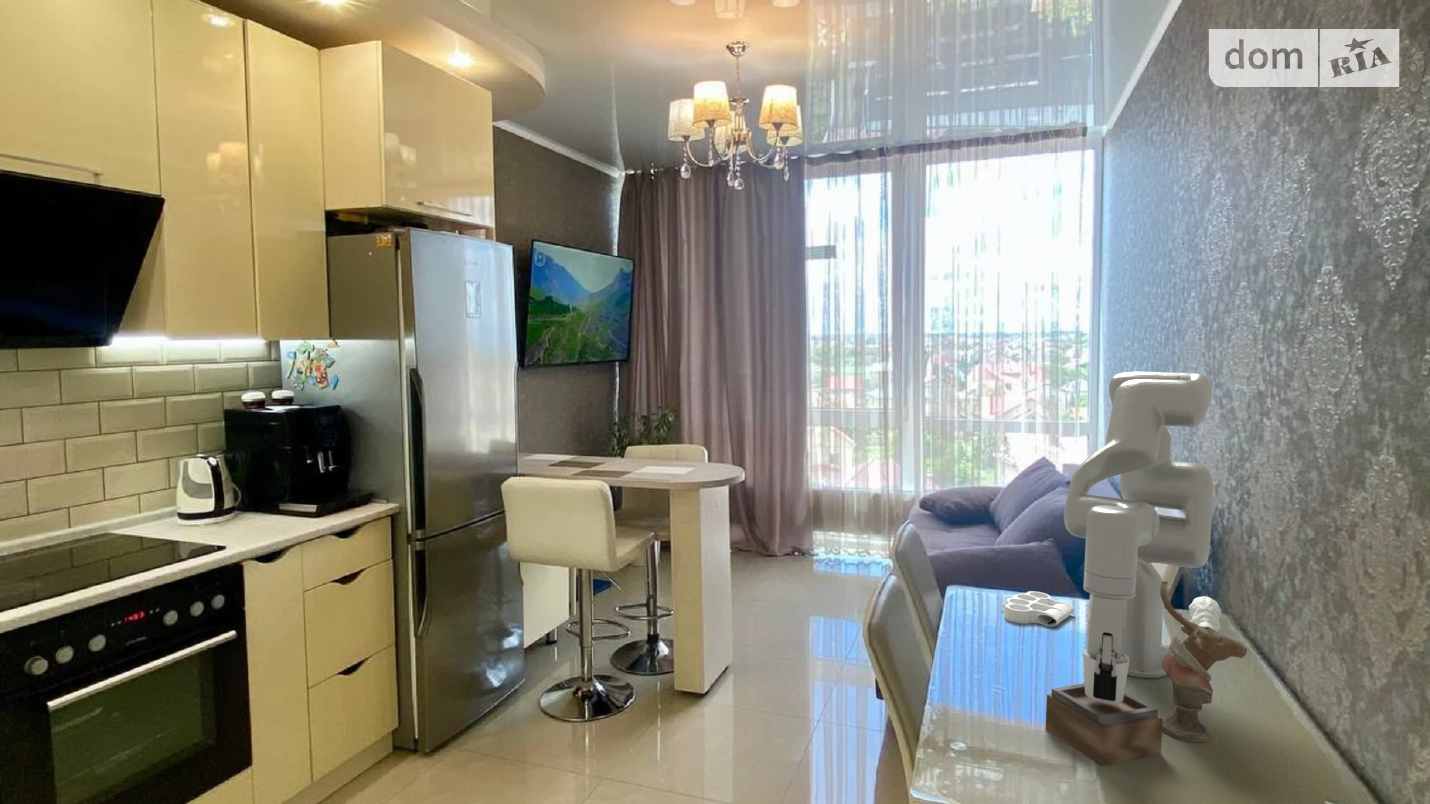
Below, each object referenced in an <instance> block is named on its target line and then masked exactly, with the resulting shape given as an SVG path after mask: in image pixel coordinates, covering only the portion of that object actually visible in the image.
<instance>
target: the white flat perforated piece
mask: <svg viewBox="0 0 1430 804" xmlns="http://www.w3.org/2000/svg"><path fill="white" fill-rule="evenodd" d="M1000 607H1002V608H1004V611H1003V617H1004V619H1005V620H1007V621H1009V622H1012V623H1017V624H1029V623H1034V624H1040V625H1043V626H1047V627H1056V626H1058V625H1059V624H1060V623H1061V622H1063V621H1064V620H1065V621H1066V619H1067V618H1068V617H1069V616H1072V615H1074V614H1075V613H1074V612H1075V609H1074V607H1073V606H1072V605H1070V604H1069V603H1067V602H1064V601H1062V600H1057V599H1053V598H1052V597H1051V595H1049V594H1048V593H1045V592H1042V591H1041V592H1040V591H1033V590H1031V591H1030V590H1029V591H1026V592H1025V593H1017V594H1013V595H1012V597H1007V599H1006V602H1003V603H1002V604H1000ZM1052 620H1055V622H1053V623H1050V622H1051V621H1052ZM1048 623H1049V624H1048Z"/></svg>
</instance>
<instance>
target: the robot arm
mask: <svg viewBox="0 0 1430 804" xmlns="http://www.w3.org/2000/svg"><path fill="white" fill-rule="evenodd" d="M1108 385H1109V386H1108V393H1109V399H1110V401H1111V405H1112V406H1111V411H1110V416H1109V423H1108V428H1107V432H1106V433H1107V435H1106V439H1105V440H1106V441H1105V444H1104V446H1102V448H1100V449H1098V450H1096V451H1095V452H1093V453H1092V454H1091V455H1089V456H1088V457H1087V458H1086V459H1084V461H1083V462H1082V463H1081V464H1080V465H1078V467H1077V469H1075V472H1073V474H1072V477H1071V478H1070V482H1069V485H1068V491H1067V497H1066V499H1065V506H1064V510H1063V511H1064V512H1063V513H1064V514H1063V515H1064V516H1063V521H1064V526H1065V528H1066V530H1067V531H1068V533H1069V534H1071V535H1072V536H1074V537H1077V538H1082V539H1085V547H1084V548H1085V549H1084V550H1085V551H1084V553H1085V554H1084V568H1083V569H1084V570H1083V571H1084V572H1083V590H1084V591H1085V592H1086V593H1089V599H1088V601H1089V602H1088V612H1087V613H1088V614H1087V615H1088V617H1087V634H1086V635H1087V637H1086V638H1087V639H1086V648H1087V653H1088V654H1089V655H1091V654H1094V655H1096V653H1097V655H1096V657H1097V661H1096V672H1094V687H1093V696H1094V697H1095V698H1099V699H1104V700H1109V701H1115V700H1116V681H1117V676H1115V668H1116V660H1118V659H1120V658H1121V653H1123V654H1125V655H1126V656H1128V657H1129V660H1130V661H1129V667H1128V673H1127V676H1131V677H1135V678H1136V677H1137V678H1143V679H1157V678H1158V679H1159V678H1164V677H1166V676H1168V675H1167V674H1166V672H1165V671H1164V670H1163V669H1162V667H1161V661H1162V659H1163V658H1164V656H1166V655H1173V653H1172V650H1171V649H1170V644H1167V645H1164V644H1163V645H1162V640H1163V639H1162V638H1163V637H1162V636H1163V621H1164V620H1163V618H1164V606H1165V605H1164V603H1163V601H1162V598H1161V594H1160V590H1161V584H1162V582H1164V580H1163V578H1162V576H1161V575H1160V574H1159V572H1158V570H1157V569H1156V568H1155V566H1154V565H1153V563H1154V564H1161V565H1169V566H1176V567H1181V568H1189V569H1196V568H1197V569H1198V568H1202V567H1203V566H1205V565H1206V564H1207V562H1208V559H1209V556H1210V548H1211V539H1212V538H1211V535H1212V517H1213V516H1212V515H1213V498H1214V486H1213V485H1214V483H1213V478H1212V473H1211V472H1210V470H1209V469H1208V468H1207V467H1206V466H1204V465H1202V464H1199V463H1195V462H1188V461H1187V462H1186V461H1185V462H1184V461H1174V460H1172V459H1171V447H1172V435H1171V433H1170V431H1169V429H1168V428H1167V426H1168V427H1169V426H1170V427H1182V428H1185V427H1186V428H1193V427H1194V428H1195V427H1198V426H1199V425H1201V423H1203V421H1204V419H1205V417H1206V414H1207V412H1208V410H1209V408H1210V406H1211V402H1212V387H1211V383H1210V380H1209V378H1207V376H1205V375H1204V374H1202V373H1197V372H1196V373H1194V372H1192V373H1191V372H1164V371H1125V372H1121V373H1120V372H1119V373H1117V374H1115V375H1113V376H1112V377H1111V379H1110V380H1109V384H1108ZM1118 475H1120V480H1119V482H1120V483H1119V484H1120V485H1119V486H1120V488H1119V489H1120V495H1121V496H1122V498H1117V497H1109V496H1100V495H1095V494H1093V495H1092V494H1091V495H1090V494H1088V493H1089V491H1090V490H1091V489H1092V488H1093V487H1094V486H1096V485H1097V484H1098V483H1099V482H1101V481H1104V480H1106V479H1108V478H1112V477H1115V476H1118ZM1155 508H1158V509H1165V510H1166V509H1167V510H1176V511H1179V512H1181V513H1182V514H1183V515H1184V517H1182V516H1180V517H1179V516H1172V515H1163V514H1158V512H1157V511H1156V509H1155ZM1099 651H1103V653H1102V655H1101V654H1099ZM1111 653H1113V657H1112V656H1111ZM1100 659H1102V662H1100ZM1111 661H1112V664H1111Z"/></svg>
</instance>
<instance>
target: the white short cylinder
mask: <svg viewBox="0 0 1430 804" xmlns="http://www.w3.org/2000/svg"><path fill="white" fill-rule="evenodd" d="M1102 653H1103V651H1099V654H1101V655H1102ZM1096 655H1097V653H1096ZM1096 655H1094V654H1091V655H1089V654H1088V653H1087V647H1086V648H1084V649H1083V650H1082V657H1083V658H1082V659H1083V677H1084V678H1083V680H1084V683H1085V694H1086V695H1087V696H1088V697H1089V698H1091V699H1093V700H1095V701H1098V702H1102V703H1107V704H1118V703H1121V702H1122V701H1123V698H1124V692H1126V685H1127V679H1128V675H1127V673H1128V667H1129V661H1130V660H1129V657H1128V656H1126V655H1125V654H1123V653H1121V658H1120V659H1118V660H1116V668H1115V676H1117V681H1116V700H1115V701H1109V700H1104V699H1099V698H1095V697H1094V696H1093V687H1094V672H1096V661H1097V657H1096ZM1111 656H1112V657H1113V653H1111ZM1100 662H1102V659H1100ZM1111 664H1112V661H1111Z"/></svg>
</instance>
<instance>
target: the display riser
mask: <svg viewBox="0 0 1430 804" xmlns="http://www.w3.org/2000/svg"><path fill="white" fill-rule="evenodd" d="M1045 708H1046V709H1045V710H1046V711H1045V730H1047V732H1050V733H1051V734H1052V735H1054V736H1056V737H1057V738H1059V739H1060V740H1061V741H1063V742H1064V743H1066V744H1068V745H1069V746H1071V747H1072V748H1074V749H1075V750H1077V751H1078V752H1079V753H1081V754H1083V755H1084V756H1086V757H1087V758H1089V759H1090V760H1091V761H1093V762H1095V763H1096V764H1098V765H1099V766H1102V767H1104V766H1106V765H1107V766H1108V765H1112V764H1118V763H1122V762H1127V761H1132V760H1136V759H1143V758H1147V757H1153V756H1158V755H1161V754H1162V741H1163V739H1162V738H1163V729H1162V724H1163V718H1164V717H1162V716H1161V715H1159V709H1158V708H1156V707H1154V706H1153V705H1151V704H1149V703H1147V702H1145V701H1143V700H1142V699H1139V698H1137V697H1136V696H1134V695H1132V694H1130V693H1127V692H1126V691H1125V692H1124V698H1123V701H1122V702H1121V703H1118V704H1107V703H1102V702H1098V701H1095V700H1093V699H1091V698H1089V697H1088V696H1087V695H1086V694H1085V682H1084V683H1080V684H1072V685H1067V686H1059V687H1053V688H1051V693H1048V694H1047V695H1046V707H1045Z"/></svg>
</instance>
